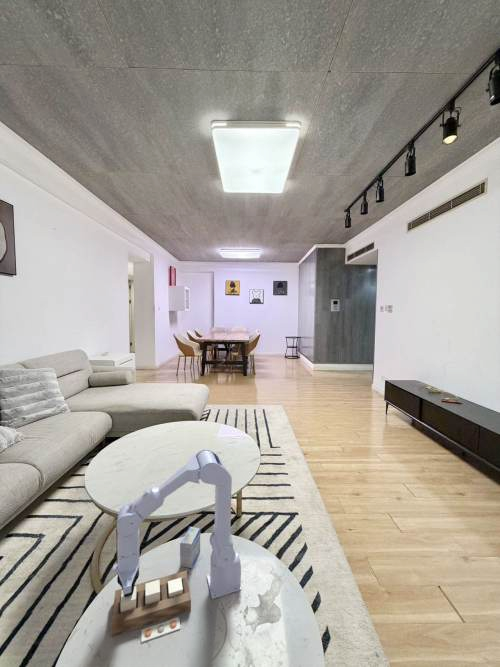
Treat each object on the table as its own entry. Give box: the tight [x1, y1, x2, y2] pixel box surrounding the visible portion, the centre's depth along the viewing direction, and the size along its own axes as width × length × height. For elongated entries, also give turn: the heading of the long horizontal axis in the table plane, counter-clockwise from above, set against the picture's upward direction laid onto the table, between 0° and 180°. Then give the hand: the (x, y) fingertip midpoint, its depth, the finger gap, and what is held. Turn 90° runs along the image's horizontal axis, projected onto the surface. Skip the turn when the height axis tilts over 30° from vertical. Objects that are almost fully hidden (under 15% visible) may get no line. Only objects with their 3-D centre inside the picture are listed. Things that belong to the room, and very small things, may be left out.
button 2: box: [168, 578, 183, 598], centre depth 86 cm, size 4×4×3 cm
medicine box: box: [179, 526, 201, 569], centre depth 100 cm, size 8×4×9 cm, turn 168°
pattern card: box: [140, 616, 181, 643], centre depth 78 cm, size 10×3×1 cm, turn 110°
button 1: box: [121, 586, 136, 613], centre depth 81 cm, size 4×4×3 cm
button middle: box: [145, 580, 160, 606], centre depth 84 cm, size 4×4×3 cm
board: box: [110, 570, 192, 638], centre depth 84 cm, size 21×10×3 cm, turn 110°
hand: (128, 593), depth 81 cm, fingers closed
